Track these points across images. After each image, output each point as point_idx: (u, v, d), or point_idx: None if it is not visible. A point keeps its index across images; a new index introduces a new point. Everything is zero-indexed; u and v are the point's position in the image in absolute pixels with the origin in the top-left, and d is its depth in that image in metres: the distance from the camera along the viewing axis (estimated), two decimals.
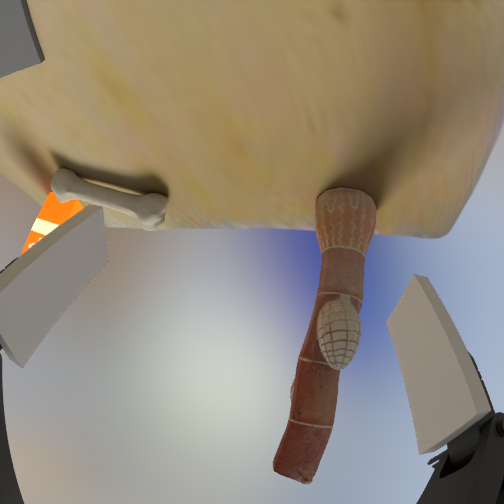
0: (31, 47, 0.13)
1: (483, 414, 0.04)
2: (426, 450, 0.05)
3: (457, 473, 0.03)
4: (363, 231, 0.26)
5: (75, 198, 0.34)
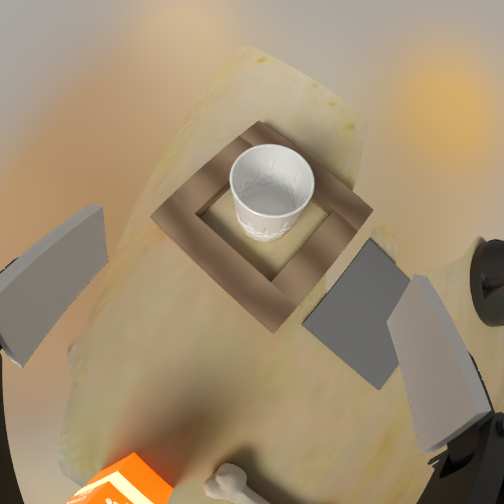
0: (387, 373, 0.29)
1: (483, 414, 0.04)
2: (426, 450, 0.05)
3: (457, 473, 0.03)
4: None
5: (237, 501, 0.22)
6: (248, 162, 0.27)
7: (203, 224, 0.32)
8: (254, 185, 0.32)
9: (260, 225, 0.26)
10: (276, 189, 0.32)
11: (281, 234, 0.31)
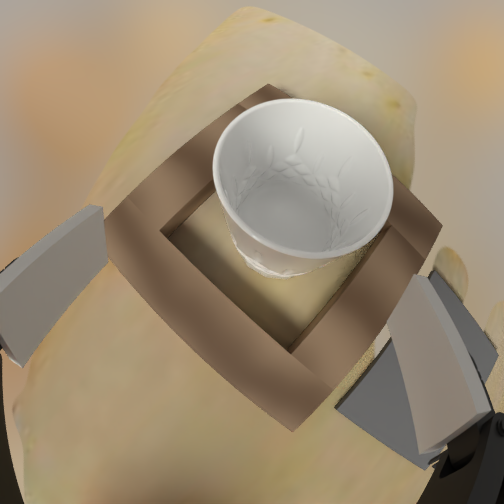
0: (437, 450, 0.15)
1: (483, 414, 0.04)
2: (426, 450, 0.05)
3: (457, 473, 0.03)
4: None
5: None
6: (254, 134, 0.13)
7: (173, 250, 0.18)
8: (263, 181, 0.18)
9: (279, 265, 0.13)
10: (301, 188, 0.19)
11: None
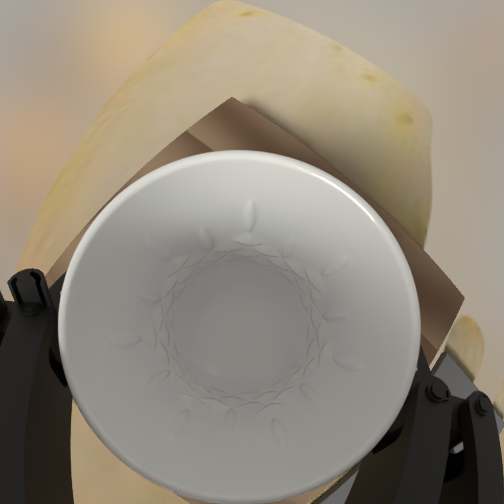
0: None
1: None
2: None
3: (388, 449, 0.04)
4: None
5: None
6: (156, 226, 0.07)
7: None
8: (208, 263, 0.12)
9: None
10: (267, 270, 0.13)
11: None
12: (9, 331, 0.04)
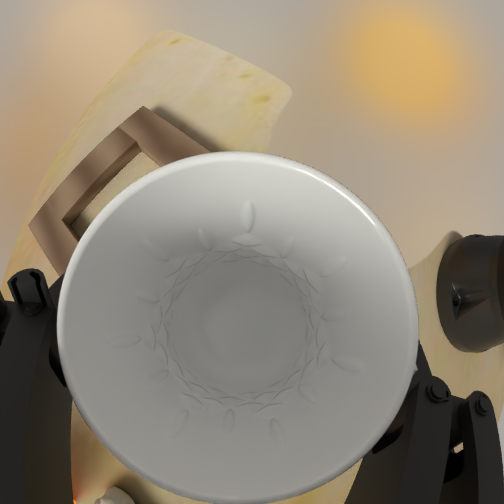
0: None
1: None
2: None
3: (388, 449, 0.04)
4: None
5: None
6: (155, 226, 0.07)
7: (67, 231, 0.24)
8: (207, 264, 0.12)
9: None
10: (266, 270, 0.13)
11: None
12: (9, 331, 0.04)
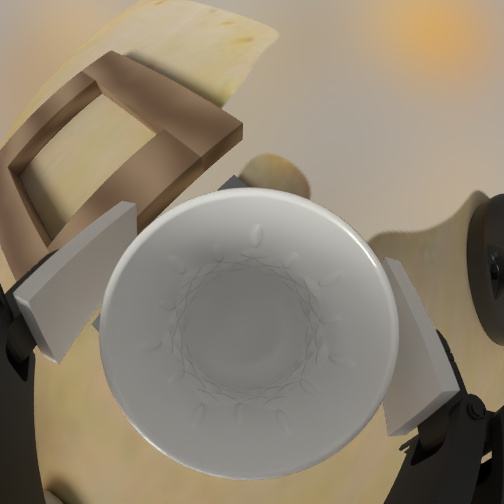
0: None
1: (451, 394, 0.05)
2: (395, 431, 0.06)
3: (428, 461, 0.04)
4: None
5: None
6: (178, 247, 0.08)
7: (9, 177, 0.16)
8: (216, 273, 0.13)
9: None
10: (270, 278, 0.14)
11: None
12: None
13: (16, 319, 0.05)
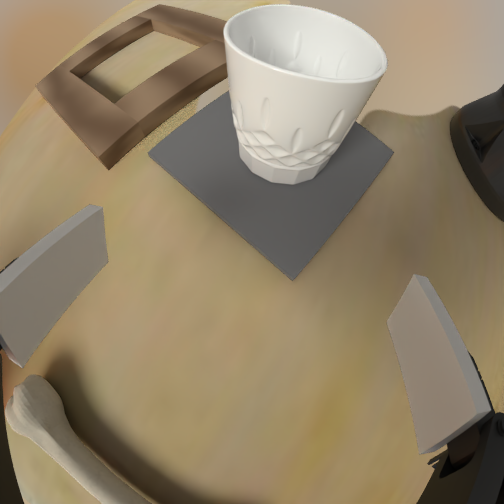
0: (308, 245, 0.17)
1: (483, 414, 0.04)
2: (426, 450, 0.05)
3: (457, 473, 0.03)
4: None
5: (46, 449, 0.10)
6: (257, 32, 0.12)
7: (72, 76, 0.20)
8: None
9: (288, 119, 0.11)
10: None
11: (318, 165, 0.16)
12: None
13: None
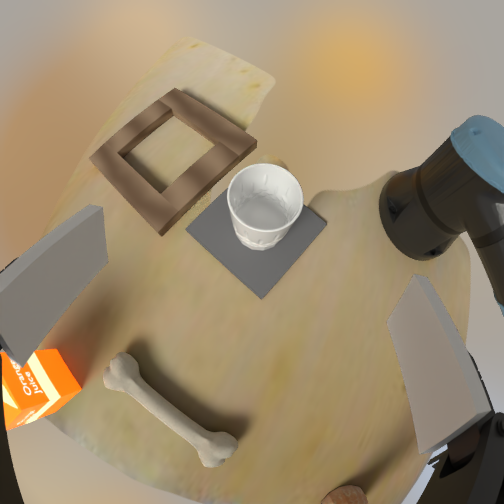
0: (269, 282, 0.36)
1: (483, 414, 0.04)
2: (426, 450, 0.05)
3: (457, 473, 0.03)
4: None
5: (131, 393, 0.29)
6: (243, 179, 0.30)
7: (121, 159, 0.38)
8: (249, 198, 0.35)
9: (255, 237, 0.29)
10: (269, 202, 0.36)
11: (274, 243, 0.35)
12: None
13: None
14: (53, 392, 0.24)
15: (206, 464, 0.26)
